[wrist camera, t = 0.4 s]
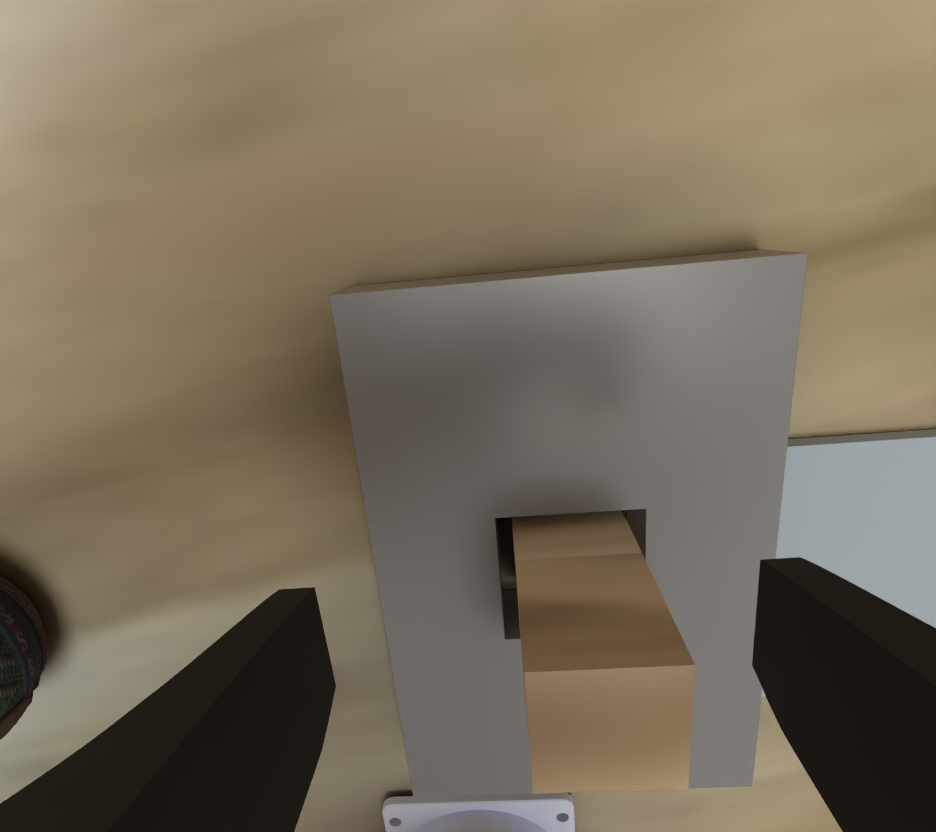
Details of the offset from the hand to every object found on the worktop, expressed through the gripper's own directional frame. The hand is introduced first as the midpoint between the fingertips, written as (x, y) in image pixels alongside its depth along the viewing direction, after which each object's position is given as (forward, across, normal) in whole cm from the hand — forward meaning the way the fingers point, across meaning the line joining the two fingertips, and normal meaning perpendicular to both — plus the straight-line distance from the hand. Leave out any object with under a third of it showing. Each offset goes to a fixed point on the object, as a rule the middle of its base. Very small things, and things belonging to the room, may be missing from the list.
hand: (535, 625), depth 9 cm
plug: (+10, -1, +4) cm, 10 cm away
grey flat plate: (+10, -2, +4) cm, 10 cm away
